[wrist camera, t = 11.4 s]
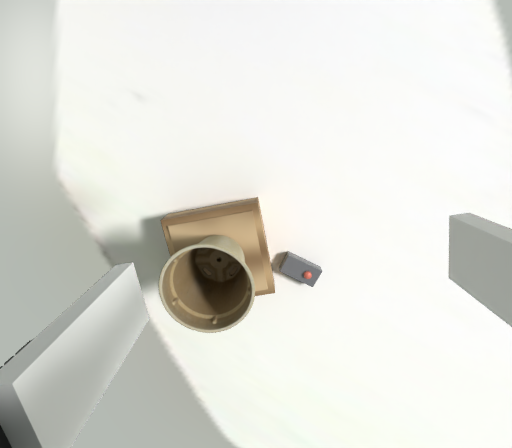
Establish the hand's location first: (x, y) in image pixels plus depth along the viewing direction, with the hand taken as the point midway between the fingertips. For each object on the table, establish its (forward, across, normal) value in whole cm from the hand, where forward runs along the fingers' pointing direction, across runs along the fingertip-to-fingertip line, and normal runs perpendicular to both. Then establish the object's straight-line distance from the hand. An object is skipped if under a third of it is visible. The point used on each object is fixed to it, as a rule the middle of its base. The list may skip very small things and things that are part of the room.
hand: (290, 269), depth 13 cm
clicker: (+28, +2, -13) cm, 30 cm away
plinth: (+27, -8, -8) cm, 30 cm away
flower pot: (+24, -8, -8) cm, 26 cm away
